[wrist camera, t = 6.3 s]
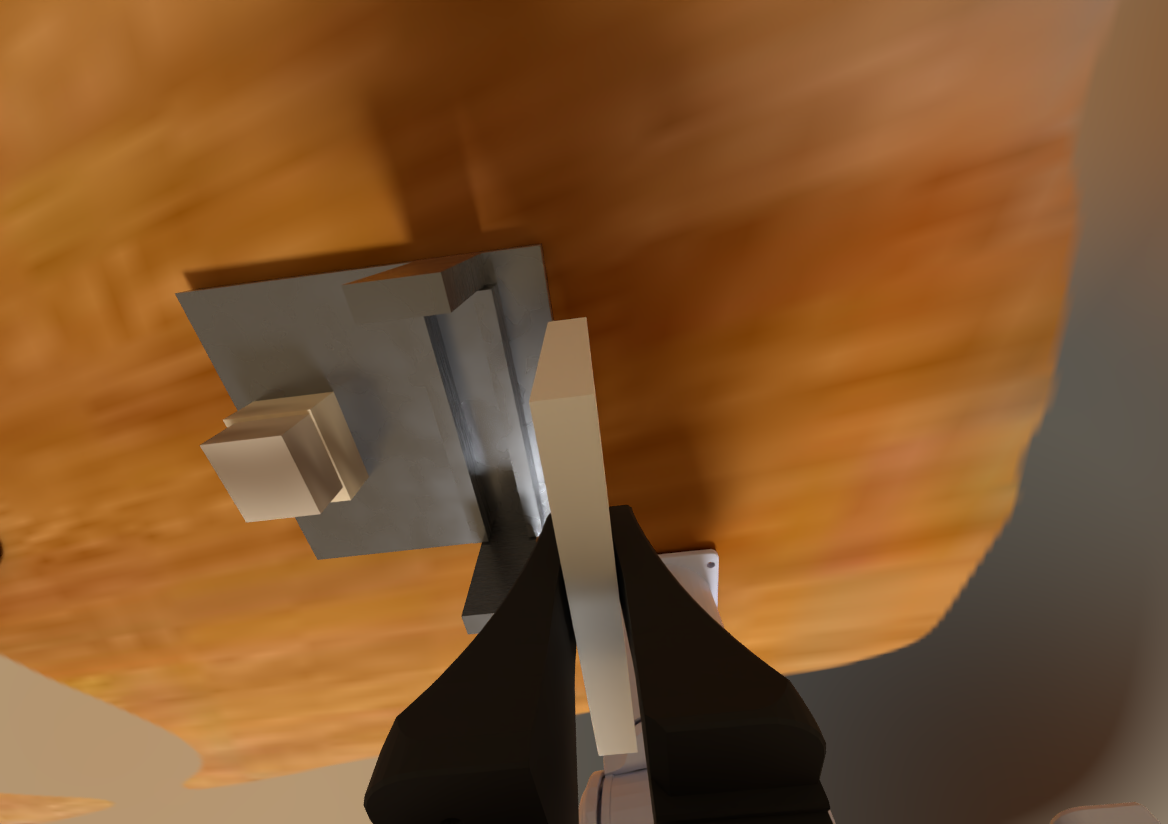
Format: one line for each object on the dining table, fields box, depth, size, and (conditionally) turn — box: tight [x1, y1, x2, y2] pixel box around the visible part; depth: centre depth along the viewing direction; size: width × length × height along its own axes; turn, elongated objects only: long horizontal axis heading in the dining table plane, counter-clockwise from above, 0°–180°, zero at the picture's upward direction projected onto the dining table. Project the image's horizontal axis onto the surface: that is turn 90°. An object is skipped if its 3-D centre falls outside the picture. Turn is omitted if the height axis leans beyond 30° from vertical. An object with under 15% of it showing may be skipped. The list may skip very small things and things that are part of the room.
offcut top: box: [200, 414, 343, 522], centre depth 19 cm, size 4×3×2 cm
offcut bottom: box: [223, 392, 369, 502], centre depth 21 cm, size 5×4×2 cm
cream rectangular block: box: [529, 317, 638, 756], centre depth 13 cm, size 12×1×6 cm, turn 7°
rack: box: [175, 244, 554, 634], centre depth 19 cm, size 16×16×7 cm
